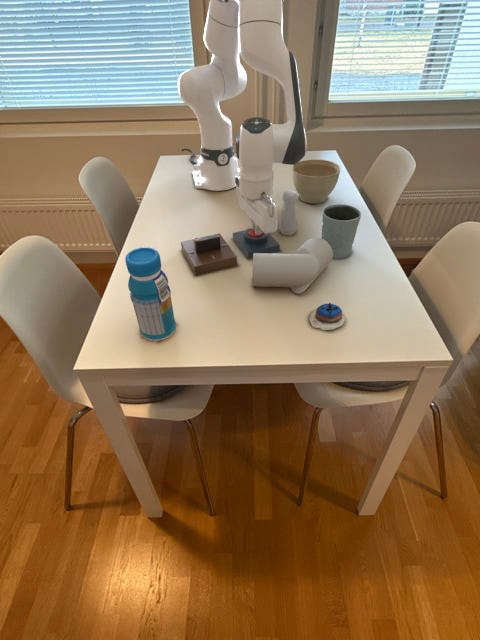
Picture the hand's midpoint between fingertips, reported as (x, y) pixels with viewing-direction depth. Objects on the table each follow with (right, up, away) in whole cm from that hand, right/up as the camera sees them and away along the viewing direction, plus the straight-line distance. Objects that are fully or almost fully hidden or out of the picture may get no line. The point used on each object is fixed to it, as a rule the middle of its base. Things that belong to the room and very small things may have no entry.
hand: (256, 232), depth 116 cm
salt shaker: (+10, +2, +8) cm, 13 cm away
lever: (-14, -5, -4) cm, 15 cm away
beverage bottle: (-24, -28, -24) cm, 43 cm away
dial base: (-14, -8, -2) cm, 16 cm away
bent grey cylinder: (+8, -15, -10) cm, 19 cm away
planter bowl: (+21, +18, +26) cm, 38 cm away
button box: (0, -3, +3) cm, 4 cm away
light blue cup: (+23, -5, 0) cm, 23 cm away
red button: (0, -1, +1) cm, 2 cm away
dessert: (+15, -25, -23) cm, 37 cm away
